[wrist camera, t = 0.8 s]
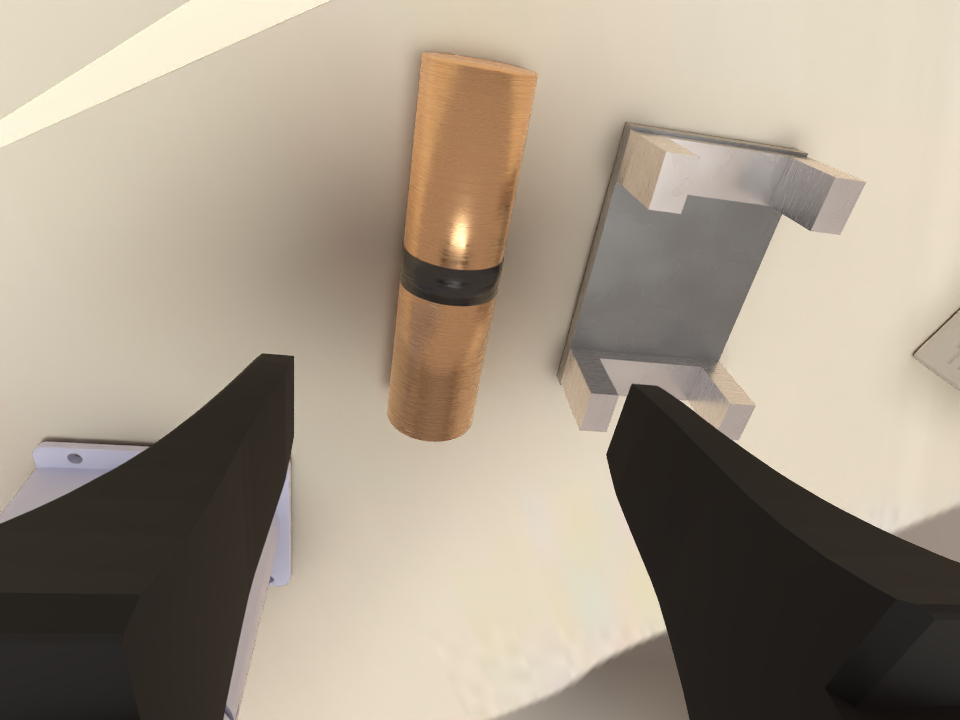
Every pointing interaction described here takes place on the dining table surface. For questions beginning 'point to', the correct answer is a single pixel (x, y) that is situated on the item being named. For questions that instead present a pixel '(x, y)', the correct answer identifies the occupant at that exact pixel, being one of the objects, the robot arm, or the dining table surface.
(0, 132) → the clear flat square panel
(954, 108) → the dining table surface
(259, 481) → the robot arm
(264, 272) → the dining table surface
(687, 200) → the cradle
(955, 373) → the skincare box
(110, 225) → the dining table surface
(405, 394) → the tube
